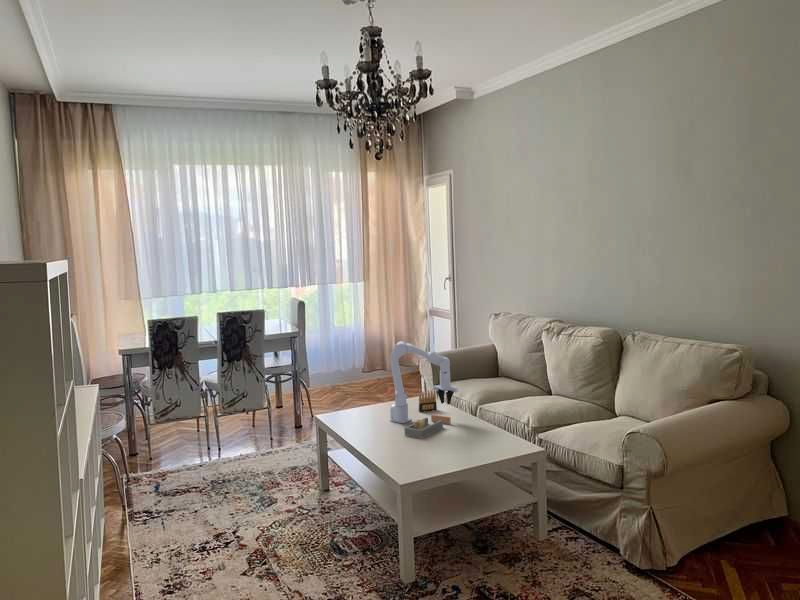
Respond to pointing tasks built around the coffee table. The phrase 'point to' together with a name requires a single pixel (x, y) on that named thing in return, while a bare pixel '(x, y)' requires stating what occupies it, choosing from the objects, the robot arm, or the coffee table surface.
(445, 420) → the end cap
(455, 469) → the coffee table surface
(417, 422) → the block
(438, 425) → the tray
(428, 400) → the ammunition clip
